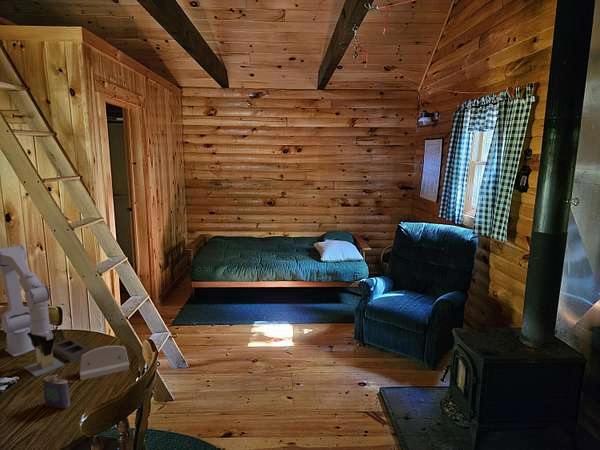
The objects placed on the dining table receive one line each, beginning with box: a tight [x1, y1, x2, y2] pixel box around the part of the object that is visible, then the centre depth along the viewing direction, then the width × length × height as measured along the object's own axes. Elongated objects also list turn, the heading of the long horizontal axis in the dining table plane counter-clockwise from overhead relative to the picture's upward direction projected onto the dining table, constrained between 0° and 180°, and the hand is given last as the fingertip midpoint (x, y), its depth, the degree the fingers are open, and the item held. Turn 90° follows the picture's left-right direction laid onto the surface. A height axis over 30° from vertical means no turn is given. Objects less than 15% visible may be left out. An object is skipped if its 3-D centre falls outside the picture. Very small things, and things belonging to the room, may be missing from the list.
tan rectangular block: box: [35, 345, 54, 369], centre depth 145 cm, size 4×4×8 cm
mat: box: [23, 356, 66, 378], centre depth 145 cm, size 10×10×1 cm
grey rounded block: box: [79, 345, 130, 381], centre depth 143 cm, size 17×5×10 cm, turn 118°
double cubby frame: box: [52, 337, 91, 363], centre depth 156 cm, size 16×8×2 cm, turn 56°
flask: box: [42, 373, 71, 410], centre depth 122 cm, size 9×3×11 cm, turn 74°
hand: (43, 352), depth 144 cm, fingers open, 7 cm apart
